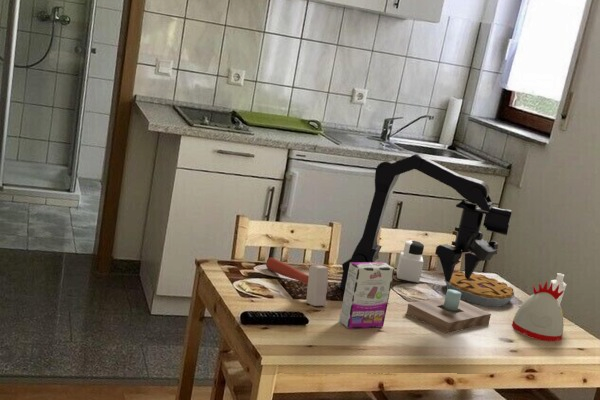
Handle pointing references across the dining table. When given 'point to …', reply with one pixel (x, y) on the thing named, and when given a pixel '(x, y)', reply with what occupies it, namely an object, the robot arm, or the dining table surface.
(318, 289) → the mallet
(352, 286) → the candy bar box
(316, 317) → the dining table surface
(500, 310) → the dining table surface
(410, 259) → the medicine bottle
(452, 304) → the stepped peg
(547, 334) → the kitchen timer
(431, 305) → the socket board
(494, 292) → the pie
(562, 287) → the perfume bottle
